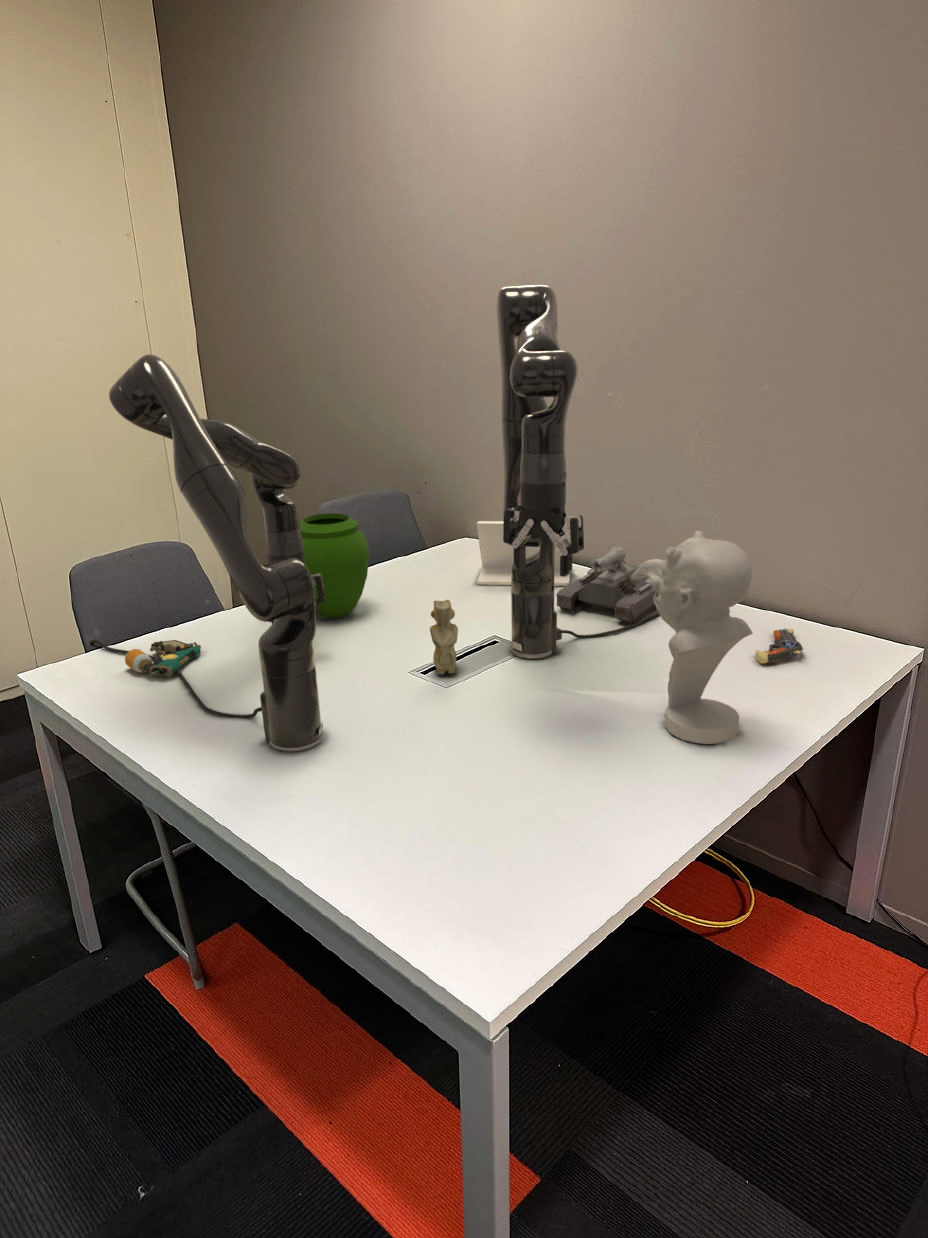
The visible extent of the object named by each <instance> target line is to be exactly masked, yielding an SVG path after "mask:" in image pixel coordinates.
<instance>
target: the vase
mask: <svg viewBox="0 0 928 1238" xmlns="http://www.w3.org/2000/svg"><path fill="white" fill-rule="evenodd" d="M299 524H300V531H301V534H302V539H303V544H304V547H303V548H304V557H305V566H306V567H307V569H308V570H309V572H310V575H316V574H317V573H321V574H322V579H323V585H324V591H325V600H324V602H322V603H319V604H317V606H318V617H320V618H324V619H326V620H327V619H329V620H336V619H341V618H345V617H347V616H349V615H350V614H351V613H352V612H353V611H354V610H355V608H356V607H357V605H358V604H359V601H360V599H361V597H362V595H363V592H364V588H365V586H366V581H367V578H368V570H369V561H370V560H369V559H370V548H369V545H368V541H367V537H366V535H365V534H364V533H363V532H362V531H361V530H360V529H359V527H358V524H359V523H358V521H356V520H355V519H353V518H352V517H350V516H349V515H347V514H344V513H335V512H334V513H333V512H331V513H320V514H313V515H310V516H307V517H305V518H303V519H302V520H301V521H299ZM314 592H315V597H317V596H318V593H317V587H316V585H314Z"/></svg>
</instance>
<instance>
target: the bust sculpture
mask: <svg viewBox="0 0 928 1238" xmlns="http://www.w3.org/2000/svg"><path fill="white" fill-rule="evenodd" d="M664 554H665V559H660V558H653V559H648V560H645V561H644V562H642V563H641V564H640V565H639V566H638V567H639V568H638V569H637V570H636V571H635V573H634V574H633V575H632V576H631V578H632V579H634V580H635V579H640V578H644V577H647V578H649V579H650V583H651V587H652V589H653V590H654V591H655V592H656V593H655V594H654V597H653V600H654V604H655V605H656V607H655V608H656V611H657V612H659V615H660V618H661V619H662V620H663V622H665V623H666V624H667V625H668V626H669V627H670V628H671V629H672V630H673V631H675V634H673V635H672V636H671V638H669V641H668V649H669V653H670V654H671V657H672V658H673V660H672V663H671V666H670V669H669V673H668V682H667V694H668V696H667V697H668V700H667V705H668V706H666V708H665V718H664V726H665V728H666V730H667V731H668V732H669V733H670V734H671V735H673V736H675V737H676V738H679V739H680V740H683V741H687V742H691V743H696V744H703V745H713V744H721V743H726V742H729V741H731V740H733V739H734V738H736V736H738V733H739V729H740V728H739V727H740V715H739V714H740V713H738V711H737V710H736V709H735V708H734V707H732V706H730V705H728V704H727V703H724V702H721V701H719V700H714V699H709V698H702V696H703V695H704V694H703V693H704V692H705V690H706V687H707V685H708V684H709V681H710V680H711V678H712V676H713V674H714V673H715V671H716V670H717V668H718V667H719V665H720V664H721V662H722V661H723V660H724V658H725V656H726V655H727V654H728V653H729V652H730V651H731V650H732V649H733V648H734V647H735V646H736V645H738V643H739V642H741V641H742V640H743V639H745V638H747V637H749V636H751V635H753V634H754V632H753V630H752V629H751V628H750V626H749V624H748V623H747V622H746V621H745V620H744V619H743V618H740V617H737V616H731V614H730V613H731V610H730V608H732V607H734V606H736V605H737V604H739V603H740V602H741V601H742V600H744V599H745V597H746V595H747V594H748V592H749V590H750V586H751V583H752V574H753V573H752V572H753V571H752V565H751V561H750V559H749V557H748V555H747V554H746V552H745V551H744V550H743V549H742V548H741V547H740V546H739V545H737V544H736V543H734V542H731V541H728V540H723V539H711V538H707V536H706V534H705V532H703V530H696V531H694V533H693V536H691V537H689V538H687V539H684V541H682V542H681V543H679V544H678V545H677V546H675V547H674V546H669V547H667V548H666V551H665V553H664Z"/></svg>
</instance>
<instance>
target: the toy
mask: <svg viewBox="0 0 928 1238" xmlns="http://www.w3.org/2000/svg"><path fill="white" fill-rule="evenodd" d="M626 557H627V556H626V551H625V549H624V548H622V547H621V546H614V547H612V548H611V549H610V550H609V552H608V553H607V554H605V555H604V556H601V557H599V558H598V559H597V557H596V558H594V559H593V560H592V561H590V562H589V563H590V564H591V565H592V567H591V568H590V569H589V570H587V573H586V575H584V576H582V577H580V578H578V579H577V580H575V581H573V582H570V583H569V585H567V586H563V587H562V588H560V589H559V590H558V591H557V592H556V607H558V608H559V609H560V610H562V611H566V612H572V613H575V612H577V611H579V610H581V609H582V608H585V607H586V606H588V605H592V606H598V607H602V608H603V607H604V608H609V609H613V610H614V618H615V619H617V620H618V621H621V622H626V623H630V624H633V623H636V622H637V621H638V620H640V619H641V618H642V617H644V616H645V615H647V614H648V613H650V612H651V611H652V610H654V609H655V608H656V605H655V604H654V600H653V597H654V594H655V593H656V592H655V591H654V590H653V589H652V587H651V583H650V579H649V578H647V577H644V578H640V579H635V580H634V579H632V578H631V576H632V575H633V574H634V573H635V571H636V570H637V569H638V568H639V566H635V565H629V564H628V563H627V562H626V561H625V559H626Z"/></svg>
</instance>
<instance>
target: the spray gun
mask: <svg viewBox="0 0 928 1238" xmlns="http://www.w3.org/2000/svg"><path fill="white" fill-rule="evenodd" d="M201 649H202V645H201V644H198V643H197V642H196V641H194V642H190V643H186V642H183V641H181V640H177V639H171V640H159V641H154V642H153V643H151V645H150V648H149V651H150V652H155V653H156V658H155V659H154V660H152V659H151V658H150V657H149V656H148V655H149V654H147V653H145V651H142V650H141V649H138V648H132V649H130V650H128V651H129V652H128V653H127V654H125V656H124V662H125V665H126V666H127V667H128V668H130V669H131V670H133V671H135V672H137V673H139V674H143V673H146V672H147V673H149V674H150V675H151V676H162V677H171V676H172V675H173V674H174V673H175V671H177V670H178V671H179V669H181V667H182V666H184V664H186V663H187V662H189V660H191V659H192V658H196V657H197V656H198V655H200V654H201ZM168 652H170V653H169V654H166V653H168Z"/></svg>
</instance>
